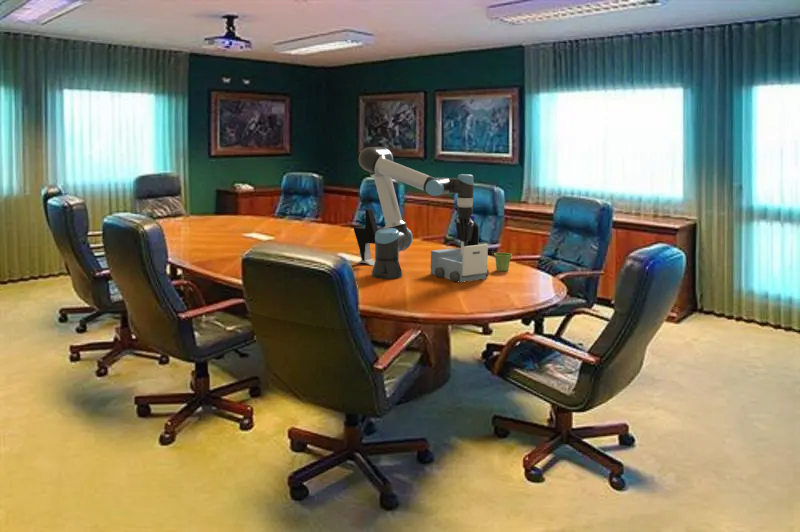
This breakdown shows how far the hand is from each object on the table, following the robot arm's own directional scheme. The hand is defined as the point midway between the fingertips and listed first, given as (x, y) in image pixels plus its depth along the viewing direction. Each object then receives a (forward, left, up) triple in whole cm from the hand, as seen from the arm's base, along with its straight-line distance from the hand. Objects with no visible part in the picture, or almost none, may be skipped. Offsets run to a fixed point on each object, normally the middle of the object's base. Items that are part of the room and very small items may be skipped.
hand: (463, 254), depth 347 cm
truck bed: (0, +4, -12) cm, 13 cm away
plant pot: (+30, +4, -12) cm, 33 cm away
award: (-21, +56, -12) cm, 61 cm away
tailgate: (0, -9, -9) cm, 12 cm away
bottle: (+20, +19, -12) cm, 30 cm away
